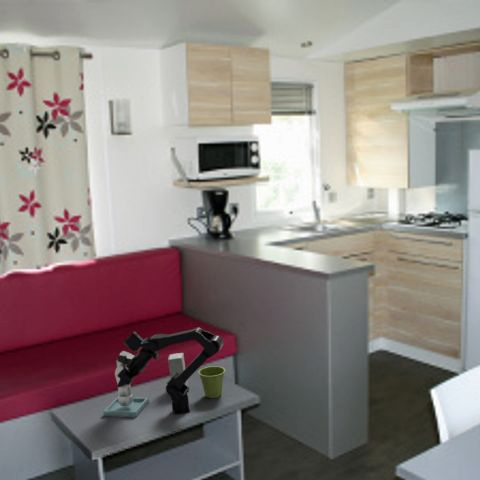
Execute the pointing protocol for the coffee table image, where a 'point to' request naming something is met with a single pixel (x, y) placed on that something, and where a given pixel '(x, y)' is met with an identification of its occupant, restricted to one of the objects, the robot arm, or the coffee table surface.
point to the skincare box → (176, 364)
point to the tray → (126, 408)
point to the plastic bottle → (123, 388)
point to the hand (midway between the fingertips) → (121, 383)
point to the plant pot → (212, 380)
